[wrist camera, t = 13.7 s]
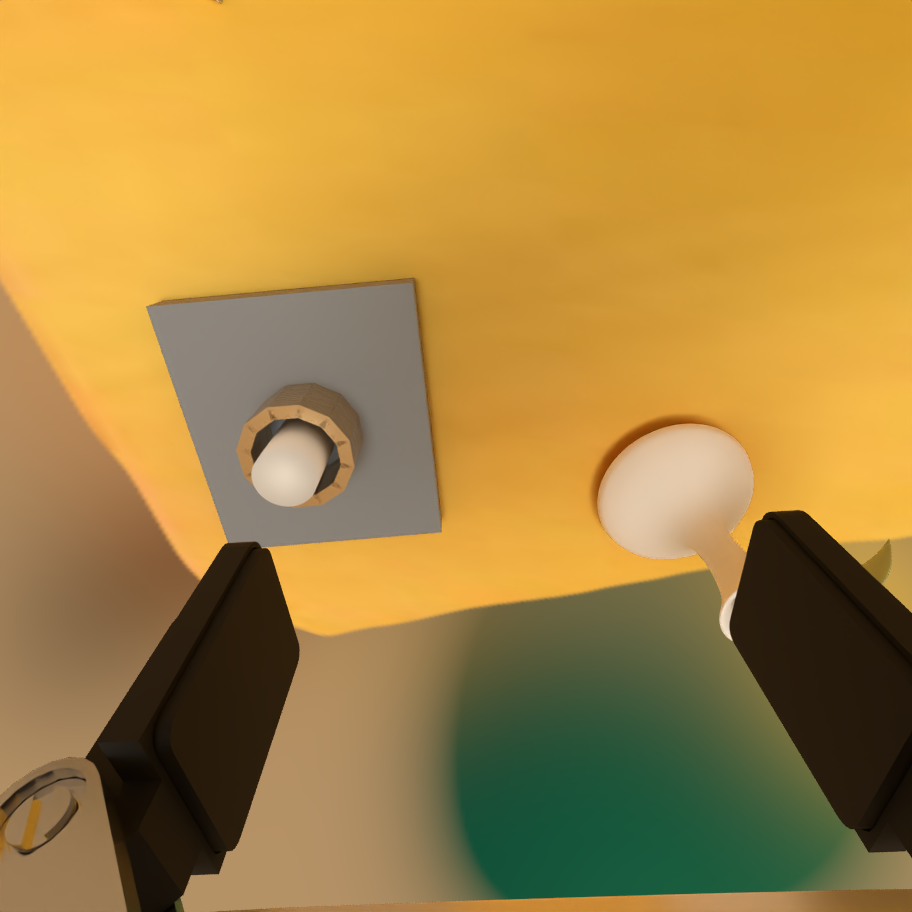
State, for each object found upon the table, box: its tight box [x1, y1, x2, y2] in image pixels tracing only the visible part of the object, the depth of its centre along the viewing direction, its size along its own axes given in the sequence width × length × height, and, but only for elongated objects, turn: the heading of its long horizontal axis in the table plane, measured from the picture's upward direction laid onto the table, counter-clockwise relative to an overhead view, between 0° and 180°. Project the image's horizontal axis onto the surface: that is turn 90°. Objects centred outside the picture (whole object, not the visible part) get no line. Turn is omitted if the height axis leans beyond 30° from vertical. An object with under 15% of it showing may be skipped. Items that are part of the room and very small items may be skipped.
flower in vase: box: [597, 423, 892, 641], centre depth 28 cm, size 13×11×25 cm
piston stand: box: [146, 278, 441, 547], centre depth 32 cm, size 18×16×8 cm
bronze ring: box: [236, 383, 363, 508], centre depth 33 cm, size 7×7×4 cm
